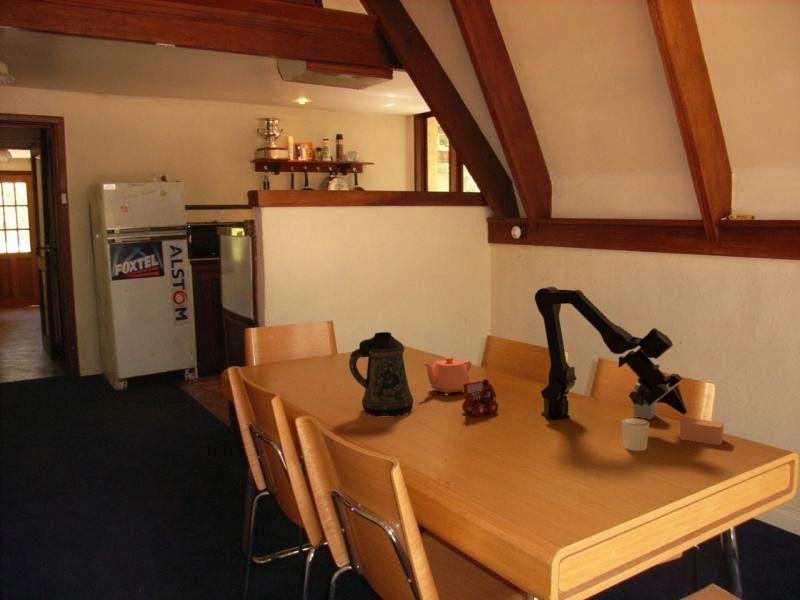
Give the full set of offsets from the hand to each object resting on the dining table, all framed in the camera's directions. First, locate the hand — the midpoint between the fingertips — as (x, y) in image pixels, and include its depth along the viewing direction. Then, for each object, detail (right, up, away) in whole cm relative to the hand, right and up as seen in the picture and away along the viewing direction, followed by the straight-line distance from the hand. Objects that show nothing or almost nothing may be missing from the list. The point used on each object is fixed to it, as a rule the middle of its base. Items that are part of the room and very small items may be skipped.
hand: (685, 413), depth 185 cm
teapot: (-61, -2, +54) cm, 82 cm away
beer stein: (-83, -5, +32) cm, 89 cm away
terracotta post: (-1, -4, +1) cm, 4 cm away
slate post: (-4, -4, +20) cm, 21 cm away
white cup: (-16, -8, -7) cm, 19 cm away
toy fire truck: (-52, -5, +28) cm, 60 cm away
